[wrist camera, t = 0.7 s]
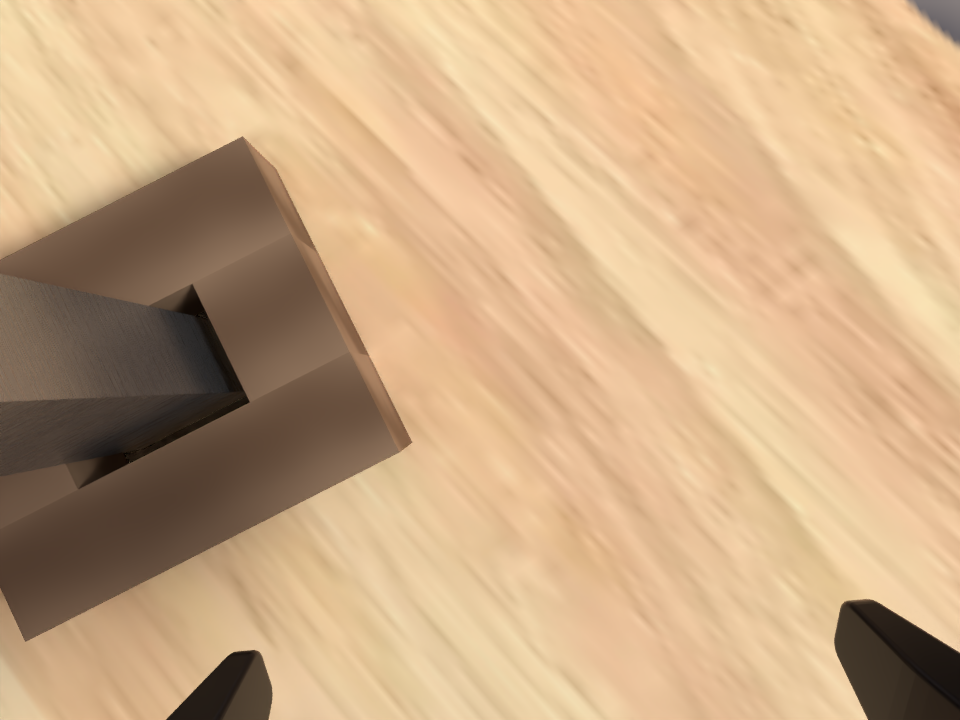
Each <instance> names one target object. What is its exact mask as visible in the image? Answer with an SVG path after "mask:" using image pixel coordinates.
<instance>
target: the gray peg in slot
mask: <svg viewBox="0 0 960 720" xmlns="http://www.w3.org/2000/svg"><path fill="white" fill-rule="evenodd" d="M246 396H247V395H246V393H245V391H244V389H243V387H242V385H241V383H240V381H239V379H238V377H237V375H236V372H235V370H234V368H233V366H232V364H231V362H230V360H229V358H228V356H227V354H226V352H225V350H224V348H223V346H222V344H221V342H220V340H219V338H218V335H217V333H216V331H215V329H214V327H213V325H212V323H211V321H210V319H207V318H202V317H197V316H193V315H188V314H184V313H179V312H174V311H170V310H165V309H161V308H156V307H151V306H147V305H142V304H137V303H133V302H128V301H124V300H119V299H114V298H110V297H105V296H101V295H96V294H91V293H87V292H82V291H78V290H73V289H68V288H64V287H59V286H54V285H50V284H45V283H41V282H36V281H31V280H27V279H22V278H18V277H13V276H8V275H4V274H0V477H1V476H6V475H12V474H17V473H22V472H27V471H32V470H37V469H42V468H48V467H53V466H58V465H63V464H68V463H73V462H78V461H83V460H89V459H94V458H99V457H104V456H109V455H114V454H119V453H125V452H130V451H135V450H140V449H144V448H146V447H148V446H150V445H152V444H154V443H156V442H158V441H160V440H162V439H163V438H165V437H167V436H169V435H171V434H173V433H175V432H177V431H179V430H181V429H183V428H185V427H187V426H189V425H191V424H193V423H195V422H197V421H199V420H201V419H203V418H205V417H207V416H209V415H211V414H213V413H215V412H217V411H219V410H221V409H223V408H225V407H226V406H228V405H230V404H232V403H234V402H236V401H238V400H240V399H242V398H244V397H246Z"/></svg>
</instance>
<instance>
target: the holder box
mask: <svg viewBox="0 0 960 720" xmlns="http://www.w3.org/2000/svg"><path fill="white" fill-rule="evenodd" d="M0 274H4V275H8V276H13V277H18V278H22V279H27V280H31V281H36V282H41V283H45V284H50V285H54V286H59V287H64V288H68V289H73V290H78V291H82V292H87V293H91V294H96V295H101V296H105V297H110V298H114V299H119V300H124V301H128V302H133V303H137V304H142V305H147V306H151V307H156V308H161V309H165V310H170V311H174V312H179V313H184V314H188V315H193V316H195V315H197V314H199V313H201V312H203V311H206V313H207V315H208V317H209V319H210V321H211V323H212V325H213V327H214V329H215V331H216V333H217V335H218V338H219V340H220V342H221V344H222V346H223V348H224V350H225V352H226V354H227V356H228V358H229V360H230V362H231V364H232V366H233V368H234V370H235V372H236V375H237V377H238V379H239V381H240V383H241V385H242V387H243V389H244V391H245V393H246V395H247V397H248V399H249V401H250V403H248V404H246V405H244V406H242V407H240V408H238V409H236V410H234V411H232V412H230V413H228V414H226V415H224V416H222V417H220V418H218V419H216V420H214V421H212V422H210V423H208V424H206V425H204V426H202V427H200V428H198V429H196V430H194V431H193V432H191V433H189V434H187V435H185V436H183V437H181V438H179V439H177V440H175V441H173V442H171V443H169V444H167V445H165V446H163V447H161V448H159V449H157V450H155V451H153V452H151V453H149V454H147V455H145V456H143V457H141V458H139V459H137V460H135V461H133V462H131V463H129V464H128V462H127V460H126V458H125V456H124V454H123V453H119V454H114V455H109V456H104V457H99V458H94V459H89V460H83V461H78V462H73V463H68V464H63V465H58V466H53V467H48V468H42V469H37V470H32V471H27V472H22V473H17V474H12V475H6V476H1V477H0V588H1V590H2V592H3V594H4V596H5V599H6V601H7V603H8V605H9V607H10V609H11V612H12V614H13V616H14V618H15V620H16V623H17V625H18V627H19V629H20V631H21V633H22V636H23V638H24V640H25V642H26V641H28V640H30V639H32V638H34V637H36V636H38V635H40V634H42V633H44V632H46V631H48V630H50V629H52V628H54V627H56V626H57V625H59V624H61V623H63V622H65V621H67V620H69V619H71V618H73V617H75V616H77V615H79V614H81V613H83V612H85V611H87V610H89V609H91V608H93V607H95V606H97V605H99V604H101V603H103V602H105V601H107V600H109V599H111V598H113V597H115V596H117V595H119V594H121V593H123V592H125V591H127V590H129V589H130V588H132V587H134V586H136V585H138V584H140V583H142V582H144V581H146V580H148V579H150V578H152V577H154V576H156V575H158V574H160V573H162V572H164V571H166V570H168V569H170V568H172V567H174V566H176V565H178V564H180V563H182V562H184V561H186V560H188V559H190V558H192V557H194V556H196V555H198V554H200V553H202V552H203V551H205V550H207V549H209V548H211V547H213V546H215V545H217V544H219V543H221V542H223V541H225V540H227V539H229V538H231V537H233V536H235V535H237V534H239V533H241V532H243V531H245V530H247V529H249V528H251V527H253V526H255V525H257V524H259V523H261V522H263V521H265V520H267V519H269V518H271V517H273V516H275V515H277V514H278V513H280V512H282V511H284V510H286V509H288V508H290V507H292V506H294V505H296V504H298V503H300V502H302V501H304V500H306V499H308V498H310V497H312V496H314V495H316V494H318V493H320V492H322V491H324V490H326V489H328V488H330V487H332V486H334V485H336V484H338V483H340V482H342V481H344V480H346V479H348V478H350V477H351V476H353V475H355V474H357V473H359V472H361V471H363V470H365V469H367V468H369V467H371V466H373V465H375V464H377V463H379V462H381V461H383V460H385V459H387V458H389V457H391V456H393V455H395V454H397V453H399V452H400V451H402V450H403V449H404V448H406V447H407V446H408V445H409V444H411V443H412V441H411V439H410V437H409V435H408V433H407V431H406V429H405V427H404V425H403V423H402V421H401V419H400V417H399V415H398V413H397V411H396V409H395V407H394V405H393V403H392V401H391V399H390V397H389V395H388V393H387V391H386V389H385V387H384V385H383V383H382V381H381V379H380V377H379V375H378V373H377V371H376V369H375V367H374V365H373V363H372V361H371V359H370V357H369V355H368V353H367V351H366V349H365V347H364V345H363V343H362V341H361V339H360V337H359V335H358V333H357V331H356V329H355V327H354V325H353V323H352V321H351V319H350V317H349V315H348V313H347V311H346V309H345V307H344V305H343V303H342V301H341V299H340V297H339V295H338V293H337V291H336V288H335V286H334V284H333V282H332V280H331V278H330V276H329V274H328V272H327V270H326V268H325V266H324V264H323V262H322V260H321V258H320V256H319V254H318V252H317V250H316V248H315V246H314V244H313V242H312V240H311V238H310V236H309V234H308V232H307V230H306V228H305V226H304V224H303V222H302V220H301V218H300V216H299V214H298V212H297V210H296V208H295V206H294V204H293V202H292V200H291V198H290V196H289V194H288V192H287V190H286V188H285V186H284V184H283V182H282V180H281V178H280V176H279V174H278V172H277V170H276V168H275V167H274V166H273V165H271V164H270V163H269V162H268V161H267V160H266V159H265V158H264V157H263V156H262V155H261V154H260V153H259V152H258V151H257V150H256V149H255V148H254V147H253V146H252V145H251V144H250V143H249V142H248V141H247V140H246V139H245V138H244V137H241V138H239V139H237V140H235V141H233V142H231V143H229V144H227V145H225V146H223V147H221V148H219V149H217V150H215V151H213V152H211V153H209V154H207V155H205V156H203V157H201V158H199V159H197V160H195V161H194V162H192V163H190V164H188V165H186V166H184V167H182V168H180V169H178V170H176V171H174V172H172V173H170V174H168V175H166V176H164V177H162V178H160V179H158V180H156V181H154V182H152V183H150V184H148V185H146V186H144V187H143V188H141V189H139V190H137V191H135V192H133V193H131V194H129V195H127V196H125V197H123V198H121V199H119V200H117V201H115V202H113V203H111V204H109V205H107V206H105V207H103V208H101V209H99V210H97V211H95V212H94V213H92V214H90V215H88V216H86V217H84V218H82V219H80V220H78V221H76V222H74V223H72V224H70V225H68V226H66V227H64V228H62V229H60V230H58V231H56V232H54V233H52V234H50V235H48V236H46V237H45V238H43V239H41V240H39V241H37V242H35V243H33V244H31V245H29V246H27V247H25V248H23V249H21V250H19V251H17V252H15V253H13V254H11V255H9V256H7V257H5V258H3V259H1V260H0Z"/></svg>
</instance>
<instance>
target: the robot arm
mask: <svg viewBox="0 0 960 720" xmlns="http://www.w3.org/2000/svg"><path fill="white" fill-rule="evenodd" d="M834 644H835V650H836V653H837V656H838V658H839V660H840V662H841V664H842V666H843V669H844V671H845V673H846V675H847V677H848V679H849V681H850V683H851V685H852V687H853V689H854V691H855V694H856V696H857V698H858V700H859V702H860V704H861V706H862V708H863V710H864V712H865V714H866V716H867V718H868V720H960V653H959V652H958V651H956V650H955V649H953V648H951V647H950V646H948V645H947V644H945V643H943V642H942V641H940V640H938V639H937V638H935V637H934V636H932V635H930V634H929V633H927V632H925V631H924V630H922V629H921V628H919V627H917V626H916V625H914V624H912V623H911V622H909V621H908V620H906V619H904V618H903V617H901V616H899V615H898V614H896V613H895V612H893V611H891V610H890V609H888V608H886V607H885V606H883V605H882V604H880V603H878V602H876V601H874V600H870V599H863V600H851V601H846V602H844V603H843V604H842V605H841V608H840V613H839V618H838V623H837V628H836V633H835V638H834ZM271 704H272V685H271V682H270V679H269V676H268V673H267V670H266V667H265V664H264V661H263V658H262V655H261V653H260V652H258V651H256V650H250V651H238V652H233V653H231V654H230V655H229V656H227V657H226V658H225V659H224V660H223V661H222V662H221V663H220V664H219V666H218V667H217V668H216V669H215V670H214V671H213V672H212V673H211V674H210V675H209V676H208V677H207V678H206V679H205V680H204V681H203V682H202V683H201V684H200V685H199V686H198V687H197V688H196V689H195V690H194V691H193V692H192V693H191V694H190V696H189V697H188V698H187V699H186V700H185V701H184V702H183V703H182V704H181V705H180V706H179V707H178V708H177V709H176V710H175V711H174V712H173V713H172V714H171V715H170V716H169V717H168V718H167V719H166V720H269V714H270V709H271Z"/></svg>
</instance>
